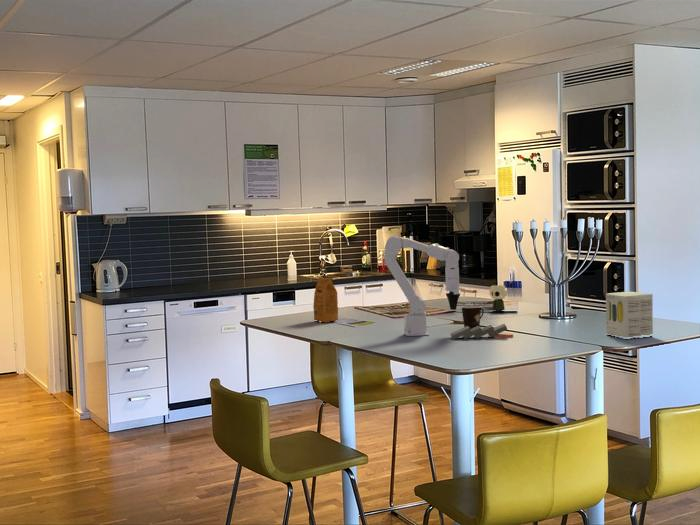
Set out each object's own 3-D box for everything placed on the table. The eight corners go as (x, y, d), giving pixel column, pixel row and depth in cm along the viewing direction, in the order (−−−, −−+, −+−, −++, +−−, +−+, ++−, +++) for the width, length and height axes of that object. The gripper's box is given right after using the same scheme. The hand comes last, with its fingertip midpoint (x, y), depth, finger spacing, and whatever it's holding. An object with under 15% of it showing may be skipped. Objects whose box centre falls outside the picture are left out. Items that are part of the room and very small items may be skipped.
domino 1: (462, 335, 345) (480, 327, 345) (460, 333, 350) (478, 325, 350) (464, 339, 345) (482, 331, 345) (462, 337, 350) (480, 329, 350)
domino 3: (487, 333, 345) (505, 325, 345) (486, 331, 350) (504, 323, 350) (489, 337, 346) (507, 329, 345) (488, 334, 351) (506, 327, 350)
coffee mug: (466, 331, 366) (466, 308, 365) (459, 328, 374) (458, 306, 374) (491, 329, 369) (490, 306, 368) (483, 326, 377) (482, 304, 377)
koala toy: (485, 311, 430) (485, 286, 429) (494, 309, 434) (493, 284, 433) (502, 312, 421) (502, 287, 421) (511, 311, 426) (511, 285, 425)
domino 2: (475, 334, 345) (492, 326, 345) (472, 333, 350) (490, 324, 350) (476, 338, 345) (494, 330, 345) (474, 336, 350) (491, 328, 350)
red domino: (493, 335, 346) (513, 334, 346) (491, 333, 351) (510, 332, 351) (493, 339, 346) (513, 338, 346) (491, 337, 351) (510, 337, 351)
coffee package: (328, 319, 418) (327, 275, 416) (340, 322, 407) (339, 276, 406) (310, 321, 413) (309, 276, 412) (322, 324, 402) (321, 278, 401)
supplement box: (605, 335, 343) (604, 293, 342) (631, 333, 348) (631, 291, 347) (626, 340, 331) (626, 296, 330) (653, 337, 335) (653, 293, 334)
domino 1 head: (451, 335, 345) (469, 327, 345) (449, 333, 350) (467, 325, 350) (453, 339, 345) (471, 331, 345) (451, 337, 350) (469, 329, 350)
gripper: (465, 278, 352) (466, 311, 353) (457, 276, 366) (458, 307, 367) (448, 279, 351) (450, 311, 352) (441, 276, 366) (442, 307, 367)
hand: (453, 309), depth 360 cm, fingers closed
